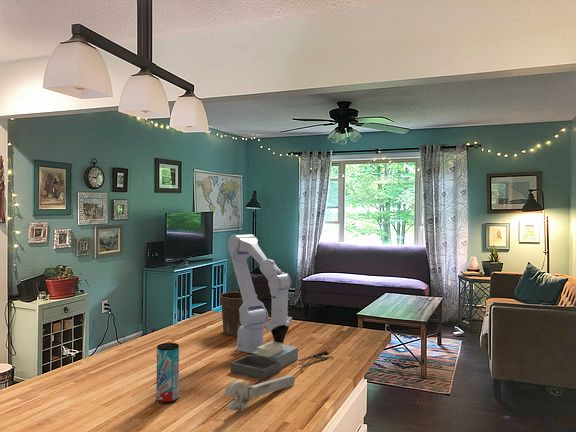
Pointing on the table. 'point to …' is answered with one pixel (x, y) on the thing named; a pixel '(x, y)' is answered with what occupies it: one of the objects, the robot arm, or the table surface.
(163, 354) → the beverage can
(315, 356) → the hacksaw
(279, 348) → the tile back
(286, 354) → the gray rectangular block
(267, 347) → the tile front
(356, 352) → the table surface
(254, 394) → the wrench
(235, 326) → the plant pot
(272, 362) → the box
